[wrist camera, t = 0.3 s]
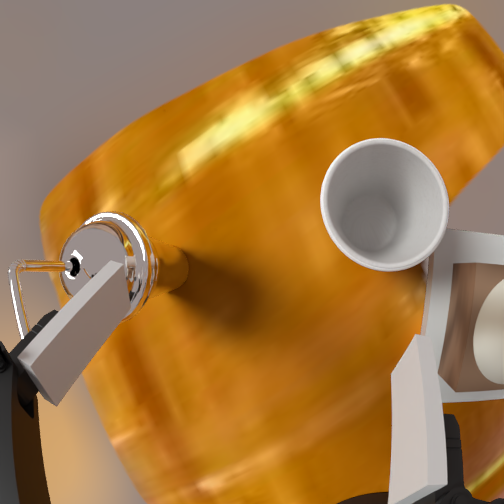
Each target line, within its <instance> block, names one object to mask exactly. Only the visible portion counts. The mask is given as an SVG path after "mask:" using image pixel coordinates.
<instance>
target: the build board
mask: <svg viewBox="0 0 504 504" xmlns="http://www.w3.org/2000/svg"><path fill="white" fill-rule="evenodd" d="M474 262H477V263H488V264H499V265H504V236H503V235H496V234H487V233H479V232H472V231H464V230H455V229H446V231H445V234H444V236H443V238H442V240H441V242H440V244H439V245H438V247H437V248H436V249H435V250H434V252H433V253H432V254H431V255H430V256H429V264H428V277H427V288H426V297H425V305H424V313H423V320H422V327H421V334H420V335H423V336H428V337H431V340H432V345H433V350H434V356H435V361H436V367H437V373H438V368H439V364H440V359H441V354H442V348H443V343H444V337H445V331H446V325H447V318H448V311H449V303H450V294H451V284H452V273H453V263H474ZM438 379H439V386H440V393H441V400H442V403H446V402H468V401H483V400H494V399H504V389H503V390H491V391H477V392H455V391H454V390H453V389H452V388H451V387H450V386H449V385H448V384H447V383H446V382H445V381H444V380H443V379H442V378H441V377H440V376H439V375H438Z"/></svg>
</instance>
